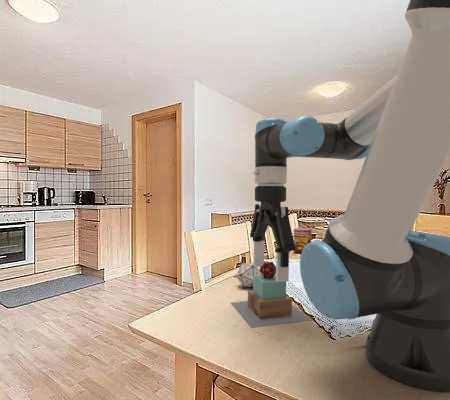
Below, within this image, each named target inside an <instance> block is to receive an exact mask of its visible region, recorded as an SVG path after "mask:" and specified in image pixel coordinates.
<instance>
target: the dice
mask: <svg viewBox="0 0 450 400" xmlns="http://www.w3.org/2000/svg"><path fill="white" fill-rule="evenodd" d="M259 270H260V272H261V273H262V275H263V276H264V278H273V277H274V276H275V274H276V264H275V263H274V262H273V261H264V264H263V265H262V266H260V268H259Z"/></svg>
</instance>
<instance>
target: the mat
mask: <svg viewBox="0 0 450 400" xmlns="http://www.w3.org/2000/svg"><path fill="white" fill-rule="evenodd" d="M230 304H231V306H232V307H233V308H234V309H235V310H236V312H237V313H238V314H239V315H240V317H242V319H243V320H244V321H245V322H246V323H247V324H248V326H249V327H250V328H251V329H252V328H253V329H254V328H263V327H271V326H278V325H284V324H285V325H286V324H293V323H299V322H300V323H302V322H310V321H313V319H312V318H311V317H310V316H309V315H308V314H306V313H305V312H303V311H302V310H300V309H299V308H298V307H296V306H295V305H293V304H292V316H283V317H275V318H267V319H259V318H258V317H257V316H256V314H255V313H254V312H253V311H252V310H251V309H250V308H249V307H248V300H245V301H233V302H230Z"/></svg>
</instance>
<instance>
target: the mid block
mask: <svg viewBox="0 0 450 400" xmlns="http://www.w3.org/2000/svg"><path fill="white" fill-rule="evenodd" d="M252 290H253V292H254V293H255V294H256V295H258V296H259V297H260V298H261V299H262V300H267V299H277V298H286V295H287V281H281V282H277V281H276V274H275V276H274V277H273V278H264V276H263V275H257V276H253V287H252Z"/></svg>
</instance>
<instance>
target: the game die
mask: <svg viewBox="0 0 450 400" xmlns="http://www.w3.org/2000/svg"><path fill="white" fill-rule="evenodd" d="M239 264H240V266H239V268H238V270H237V273H236V275H234V276H233V278H234V279H235V278H236V279H237V281H239V283H240V284H241V286H242V289H243V290H244V289H246V288H251V287H252V288H253V276H257V275H262V273H261V272H260V270H259V269H260V268H259V266H257V267H254V266H253V262H247V263H246V262H245V263H244V262H243V263H242V262H241V261H239Z"/></svg>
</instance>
